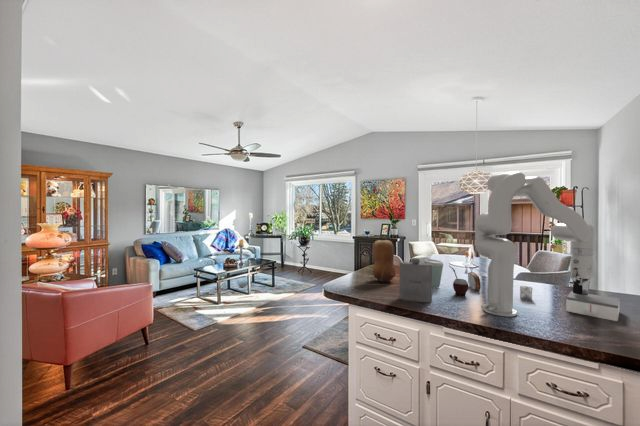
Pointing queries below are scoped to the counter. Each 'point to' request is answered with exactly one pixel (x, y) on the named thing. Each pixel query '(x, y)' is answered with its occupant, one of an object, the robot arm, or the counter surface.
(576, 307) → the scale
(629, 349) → the counter surface
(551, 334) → the counter surface
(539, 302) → the counter surface
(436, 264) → the disposable coffee cup
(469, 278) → the bread slice
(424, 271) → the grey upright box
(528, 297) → the spacer
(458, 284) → the mate gourd
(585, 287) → the spacer
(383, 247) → the butternut squash
